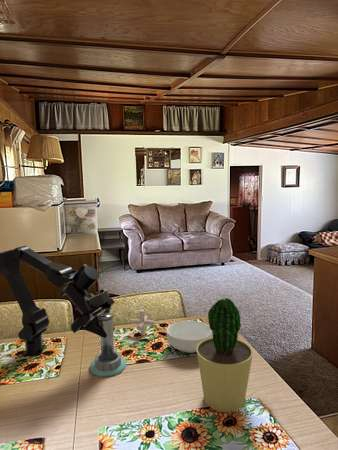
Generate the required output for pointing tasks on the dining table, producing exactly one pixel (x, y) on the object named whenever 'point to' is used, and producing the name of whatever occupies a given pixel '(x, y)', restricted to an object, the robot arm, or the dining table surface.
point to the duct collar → (108, 365)
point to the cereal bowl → (188, 335)
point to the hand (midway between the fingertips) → (110, 334)
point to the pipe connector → (142, 322)
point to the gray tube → (107, 326)
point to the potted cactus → (224, 359)
